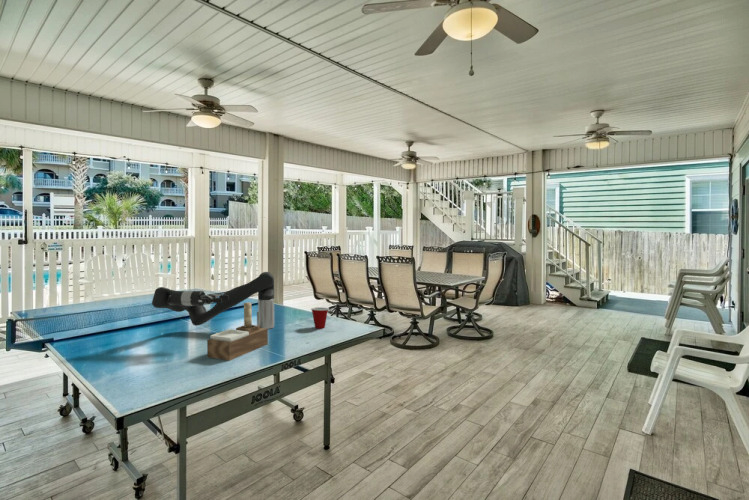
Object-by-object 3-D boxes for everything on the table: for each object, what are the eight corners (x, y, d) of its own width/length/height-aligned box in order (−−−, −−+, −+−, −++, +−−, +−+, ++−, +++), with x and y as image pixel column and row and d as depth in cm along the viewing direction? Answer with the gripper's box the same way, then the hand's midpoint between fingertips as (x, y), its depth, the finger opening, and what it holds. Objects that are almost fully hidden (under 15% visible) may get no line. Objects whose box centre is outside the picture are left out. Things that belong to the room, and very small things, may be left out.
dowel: (242, 331, 193) (242, 303, 192) (247, 329, 196) (247, 302, 196) (248, 332, 192) (248, 304, 191) (253, 330, 195) (253, 302, 194)
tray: (210, 339, 179) (210, 335, 179) (229, 332, 190) (229, 329, 190) (230, 342, 175) (230, 338, 175) (248, 335, 186) (248, 331, 186)
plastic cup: (332, 326, 235) (332, 306, 235) (322, 330, 225) (322, 310, 225) (317, 324, 240) (317, 305, 239) (307, 328, 230) (307, 308, 229)
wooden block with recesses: (207, 357, 178) (207, 335, 178) (247, 341, 203) (247, 322, 203) (229, 360, 173) (229, 338, 173) (267, 344, 198) (267, 324, 198)
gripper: (200, 303, 201) (231, 303, 201) (185, 308, 187) (218, 309, 186) (200, 288, 201) (230, 289, 200) (185, 293, 187) (218, 293, 186)
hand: (225, 298), depth 193 cm, fingers open, 8 cm apart
